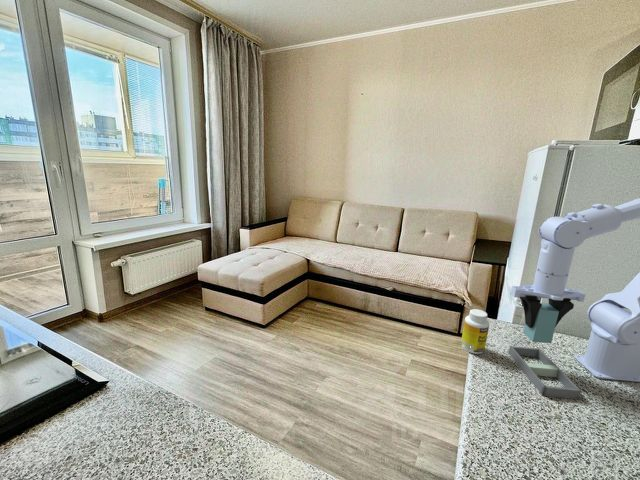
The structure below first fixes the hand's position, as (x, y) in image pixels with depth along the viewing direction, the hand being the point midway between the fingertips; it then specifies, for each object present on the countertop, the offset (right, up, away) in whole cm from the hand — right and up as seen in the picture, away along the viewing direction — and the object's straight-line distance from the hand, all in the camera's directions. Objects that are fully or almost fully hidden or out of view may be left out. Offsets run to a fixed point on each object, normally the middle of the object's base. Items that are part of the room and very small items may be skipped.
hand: (539, 326), depth 71 cm
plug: (0, -3, +1) cm, 3 cm away
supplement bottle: (-12, -8, +8) cm, 16 cm away
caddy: (-1, -10, -1) cm, 11 cm away
